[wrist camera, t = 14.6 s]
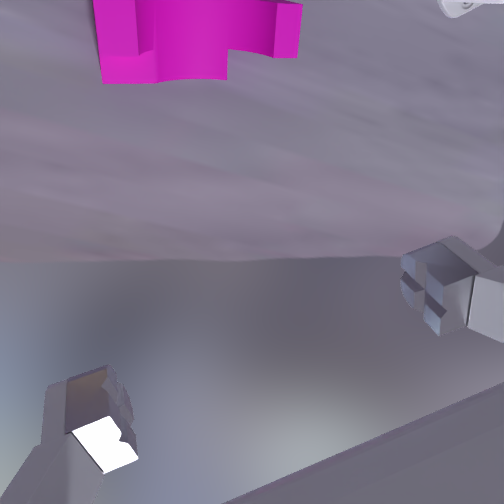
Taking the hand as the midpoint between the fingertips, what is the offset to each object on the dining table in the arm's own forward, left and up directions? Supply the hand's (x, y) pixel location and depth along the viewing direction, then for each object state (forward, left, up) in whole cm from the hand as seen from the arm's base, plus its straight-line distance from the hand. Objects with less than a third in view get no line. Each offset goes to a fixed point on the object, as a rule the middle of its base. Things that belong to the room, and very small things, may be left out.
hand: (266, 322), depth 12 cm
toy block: (-5, -1, -35) cm, 35 cm away
